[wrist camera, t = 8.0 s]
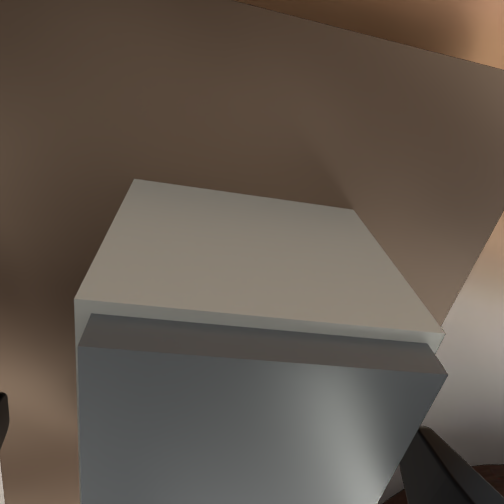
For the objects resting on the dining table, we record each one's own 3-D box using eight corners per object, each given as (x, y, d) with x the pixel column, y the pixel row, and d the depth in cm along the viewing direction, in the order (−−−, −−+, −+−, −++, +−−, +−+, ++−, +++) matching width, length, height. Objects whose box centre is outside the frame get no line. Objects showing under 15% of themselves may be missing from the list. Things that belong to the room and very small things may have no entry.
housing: (134, 178, 9) (58, 330, 5) (353, 209, 10) (468, 364, 5) (121, 447, 13) (76, 661, 9) (274, 454, 14) (302, 652, 10)
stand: (320, 447, 19) (337, 516, 16) (38, 428, 17) (5, 504, 14) (487, 71, 11) (571, 87, 9) (17, -48, 9) (-61, -76, 7)
